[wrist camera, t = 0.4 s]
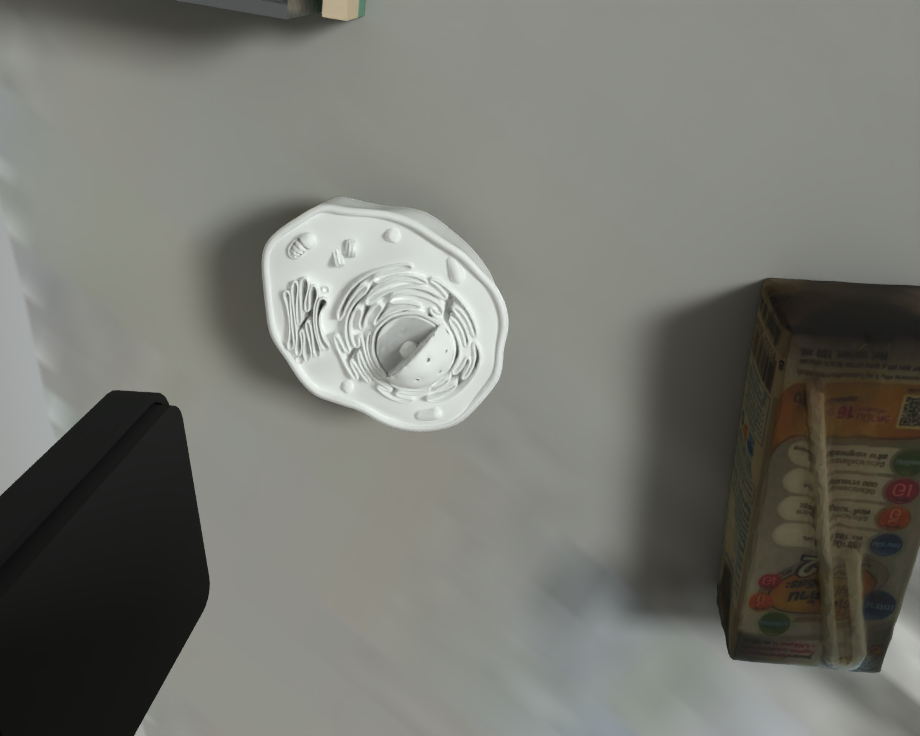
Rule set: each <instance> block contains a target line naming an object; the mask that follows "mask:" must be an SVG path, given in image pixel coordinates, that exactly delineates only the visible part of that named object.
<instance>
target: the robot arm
mask: <svg viewBox="0 0 920 736" xmlns="http://www.w3.org/2000/svg"><path fill="white" fill-rule="evenodd" d="M209 586H210V581H209V573H208V567H207V561H206V555H205V549H204V543H203V537H202V531H201V525H200V519H199V513H198V507H197V501H196V495H195V489H194V483H193V477H192V471H191V465H190V459H189V453H188V447H187V441H186V435H185V429H184V423H183V418H182V414H181V411H180V410H179V408H178V407H176V406H171V405H169V403H168V401H167V399H166V398H165V396H164V395H162V394H161V393H152V392H136V391H120V390H115V391H111V392H110V393H108V394H107V395H106V396H105V397H104V398H103V399H101V400H100V401H99V402H98V403H97V404H96V405H95V406H94V407H93V408H92V409H91V410H90V411H89V412H88V413H87V414H86V415H85V416H84V417H83V418H82V419H80V420H79V421H78V422H77V423H76V424H75V425H74V426H73V427H72V428H71V429H70V430H69V431H68V432H67V433H66V434H65V435H64V436H63V437H62V438H61V439H60V440H58V441H57V442H56V443H55V444H54V445H53V446H52V447H51V448H50V449H49V450H48V451H47V452H46V453H45V454H44V455H43V456H42V457H41V458H40V459H39V460H37V462H35V464H33V465H32V466H31V467H30V468H29V469H28V470H27V471H26V472H25V473H24V474H23V475H22V476H21V477H20V478H19V479H18V480H17V481H15V482H14V483H13V484H12V486H10V487H9V488H8V489H7V490H6V491H5V492H4V493H3V494H2V495H1V496H0V736H134V735H135V733H136V731H137V729H138V727H139V726H140V724H141V722H142V720H143V718H144V717H145V715H146V713H147V711H148V709H149V708H150V706H151V704H152V702H153V701H154V699H155V697H156V695H157V693H158V692H159V690H160V688H161V686H162V684H163V683H164V681H165V679H166V677H167V675H168V674H169V672H170V670H171V668H172V666H173V665H174V663H175V661H176V659H177V657H178V656H179V654H180V652H181V650H182V648H183V647H184V645H185V643H186V641H187V639H188V638H189V636H190V634H191V632H192V630H193V629H194V627H195V625H196V623H197V621H198V620H199V618H200V616H201V614H202V612H203V611H204V608H205V606H206V603H207V600H208V595H209Z"/></svg>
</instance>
